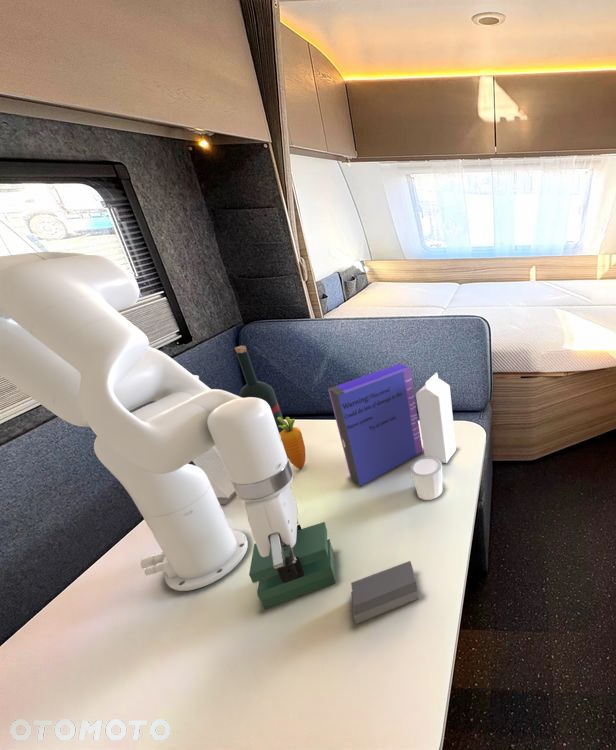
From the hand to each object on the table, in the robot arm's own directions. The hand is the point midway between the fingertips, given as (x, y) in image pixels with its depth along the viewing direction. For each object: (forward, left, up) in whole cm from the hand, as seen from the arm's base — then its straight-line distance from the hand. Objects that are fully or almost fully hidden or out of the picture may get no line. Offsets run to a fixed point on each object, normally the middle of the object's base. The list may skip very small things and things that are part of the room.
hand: (294, 560), depth 65 cm
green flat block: (0, 0, +1) cm, 1 cm away
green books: (0, 0, -5) cm, 5 cm away
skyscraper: (-17, +33, -5) cm, 37 cm away
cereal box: (+19, +26, -5) cm, 33 cm away
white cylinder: (+26, +12, -5) cm, 29 cm away
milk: (+32, +24, -5) cm, 40 cm away
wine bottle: (-8, +45, -5) cm, 46 cm away
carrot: (-1, +34, -5) cm, 34 cm away
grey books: (+13, -10, -5) cm, 17 cm away
